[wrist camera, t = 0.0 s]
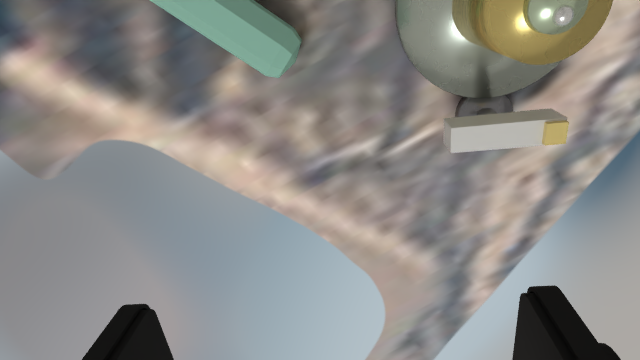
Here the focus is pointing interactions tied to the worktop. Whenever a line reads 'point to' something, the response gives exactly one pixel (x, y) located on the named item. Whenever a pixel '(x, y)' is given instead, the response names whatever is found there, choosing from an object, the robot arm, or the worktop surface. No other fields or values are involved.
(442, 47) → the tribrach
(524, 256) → the worktop surface
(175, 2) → the mint green rod
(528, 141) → the white handle
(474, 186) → the worktop surface
